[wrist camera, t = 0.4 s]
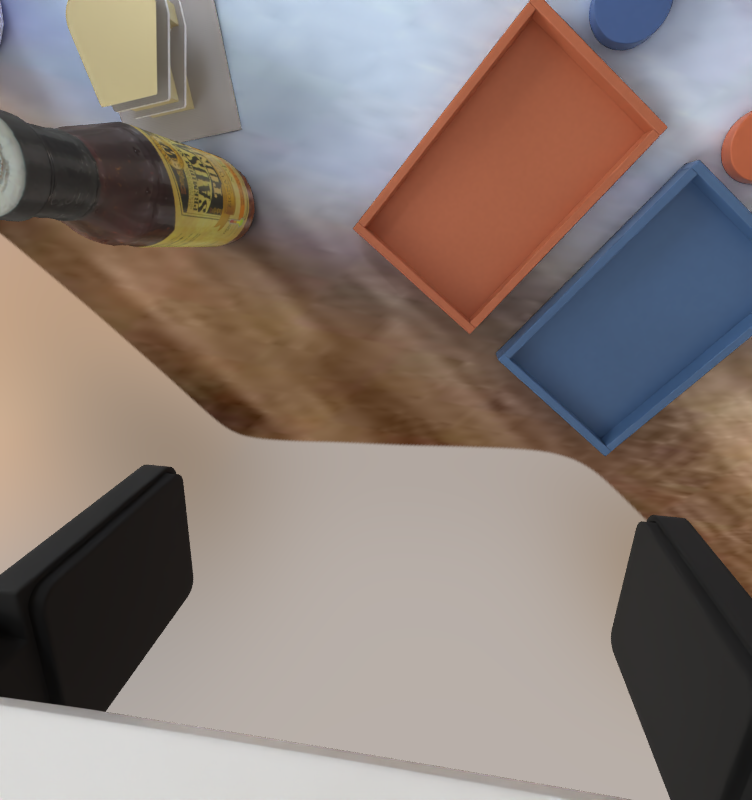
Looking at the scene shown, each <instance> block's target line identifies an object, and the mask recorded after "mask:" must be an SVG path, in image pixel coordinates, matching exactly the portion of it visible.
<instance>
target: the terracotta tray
mask: <svg viewBox="0 0 752 800" xmlns="http://www.w3.org/2000/svg"><path fill="white" fill-rule="evenodd" d="M666 129H667V126H666V125H665V124H664V123H663V122H662V121H661V120H660V119H659V118H658V117H657V116H656V115H655V113H654V112H653V111H652V110H651V109H650V108H649V107H648V106H647V105H646V104H645V103H644V102H643V101H642V100H641V99H640V98H639V97H638V96H637V95H636V94H635V93H634V92H633V91H632V90H631V89H630V88H629V87H628V86H627V85H626V84H625V83H624V82H623V81H622V80H621V79H620V77H619V76H618V75H617V74H616V73H615V72H614V71H613V70H612V69H611V68H610V67H609V66H608V65H607V64H606V63H605V62H604V61H603V60H602V59H601V58H600V57H599V56H598V55H597V54H596V53H595V52H594V51H593V50H592V49H591V48H590V47H589V46H588V45H587V44H586V43H585V42H584V40H583V39H582V38H581V37H580V36H579V35H578V34H577V33H576V32H575V31H574V30H573V29H572V28H571V27H570V26H569V25H568V24H567V23H566V22H565V21H564V20H563V19H562V18H561V17H560V16H559V15H558V14H557V13H556V12H555V11H554V10H553V9H552V8H551V7H550V6H549V5H548V3H547V2H546V1H545V0H530V1H529V3H527V5H526V6H525V7H524V9H523V10H522V11H521V12H520V14H519V15H518V16H517V18H516V19H515V20H514V21H513V23H512V24H511V25H510V27H509V28H508V29H507V30H506V32H505V33H504V34H503V36H502V37H501V38H500V40H499V41H498V42H497V43H496V45H495V46H494V47H493V49H492V50H491V51H490V52H489V54H488V55H487V56H486V58H485V59H484V60H483V61H482V63H481V64H480V65H479V67H478V68H477V69H476V70H475V72H474V73H473V74H472V76H471V77H470V78H469V79H468V81H467V82H466V83H465V85H464V86H463V87H462V89H461V90H460V91H459V92H458V94H457V95H456V96H455V98H454V99H453V100H452V101H451V103H450V104H449V105H448V107H447V108H446V109H445V110H444V112H443V113H442V114H441V116H440V117H439V118H438V119H437V121H436V122H435V123H434V125H433V126H432V127H431V128H430V130H429V131H428V132H427V134H426V135H425V136H424V138H423V139H422V140H421V141H420V143H419V144H418V145H417V147H416V148H415V149H414V150H413V152H412V153H411V154H410V156H409V157H408V158H407V159H406V161H405V162H404V163H403V165H402V166H401V167H400V168H399V170H398V171H397V172H396V174H395V175H394V176H393V178H392V179H391V180H390V181H389V183H388V184H387V185H386V187H385V188H384V189H383V190H382V192H381V193H380V194H379V196H378V197H377V198H376V199H375V201H374V202H373V203H372V205H371V206H370V207H369V208H368V210H367V211H366V212H365V214H364V215H363V216H362V217H361V219H360V220H359V222H358V223H357V224H356V225H355V226H354V228H353V229H354V230H355V231H356V232H357V233H358V234H359V235H360V236H361V237H362V238H364V239H365V240H366V241H367V242H368V243H369V244H370V245H371V246H372V247H374V248H375V249H376V250H377V251H378V252H379V253H380V254H381V255H382V256H383V257H385V258H386V259H387V260H388V261H389V262H390V263H391V264H392V265H393V266H395V267H396V268H397V269H398V270H399V271H400V272H401V273H402V274H403V275H405V276H406V277H407V278H408V279H409V280H410V281H411V282H412V283H413V284H415V285H416V286H417V287H418V288H419V289H420V290H421V291H422V292H423V293H425V294H426V295H427V296H428V297H429V298H430V299H431V300H432V301H433V302H435V303H436V304H437V305H438V306H439V307H440V308H441V309H442V310H443V311H445V312H446V313H447V314H448V315H449V316H450V317H451V318H452V319H453V320H454V321H456V322H457V323H458V324H459V325H460V326H461V327H462V328H463V329H464V330H466V331H467V332H468V333H469V334H470V333H471V332H472V331H473V330H474V329H475V328H476V327H477V326H478V325H479V324H480V323H481V322H482V321H483V320H484V319H485V318H486V317H487V316H488V315H489V314H490V313H491V312H492V311H493V309H494V308H495V307H496V306H497V305H498V304H499V303H500V302H501V301H502V300H503V299H504V298H505V297H506V296H507V295H508V294H509V293H510V292H511V291H512V290H513V289H514V288H515V287H516V285H517V284H518V283H519V282H520V281H521V280H522V279H523V278H524V277H525V276H526V275H527V274H528V273H529V272H530V271H531V270H532V269H533V268H534V267H535V266H536V265H537V264H538V263H539V261H540V260H541V259H542V258H543V257H544V256H545V255H546V254H547V253H548V252H549V251H550V250H551V249H552V248H553V247H554V246H555V245H556V244H557V243H558V242H559V241H560V240H561V239H562V237H563V236H564V235H565V234H566V233H567V232H568V231H569V230H570V229H571V228H572V227H573V226H574V225H575V224H576V223H577V222H578V221H579V220H580V219H581V218H582V217H583V216H584V215H585V213H586V212H587V211H588V210H589V209H590V208H591V207H592V206H593V205H594V204H595V203H596V202H597V201H598V200H599V199H600V198H601V197H602V196H603V195H604V194H605V193H606V192H607V191H608V189H609V188H610V187H611V186H612V185H613V184H614V183H615V182H616V181H617V180H618V179H619V178H620V177H621V176H622V175H623V174H624V173H625V172H626V171H627V170H628V169H629V168H630V167H631V165H632V164H633V163H634V162H635V161H636V160H637V159H638V158H639V157H640V156H641V155H642V154H643V153H644V152H645V151H646V150H647V149H648V148H649V147H650V146H651V145H652V144H653V143H654V141H655V140H656V139H657V138H658V137H659V135H661V134H662V133H663V132H664V131H665V130H666Z"/></svg>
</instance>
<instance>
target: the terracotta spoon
mask: <svg viewBox="0 0 752 800" xmlns="http://www.w3.org/2000/svg"><path fill="white" fill-rule="evenodd" d="M721 159H722V164H723V167H724V169H725V171H726V172H727V174H728V175H729V176H730V177H731V178H733V179H734V180H736V181H738V182H741V183H745V184H752V111H750V112H749V113H747V114H745V115H744V116H742V117H741V118H740V119H739V120H738V121H736V122H735V124H734V125H733V126H732V127H731V128H730V130H729V131H728V133H727V135H726V137H725V139H724V142H723V145H722V150H721Z"/></svg>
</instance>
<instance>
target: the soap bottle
mask: <svg viewBox="0 0 752 800" xmlns="http://www.w3.org/2000/svg"><path fill="white" fill-rule="evenodd" d="M3 26H4V23H3V16H2V8H1V1H0V43H1V38H2V32H3Z"/></svg>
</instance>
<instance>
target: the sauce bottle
mask: <svg viewBox="0 0 752 800" xmlns="http://www.w3.org/2000/svg"><path fill="white" fill-rule="evenodd" d="M254 212H255V207H254V199H253V194H252V191H251V187H250V185H249V184H248V183H247V180H246V178H245V176H243V175H242V174H241V172H239V171H238V170H237V169H236V168H234V167H233V166H232V165H231V164H230V163H229V162H227V161H226V160H224V159H222V158H220V157H218V156H215V155H212V154H210V153H207V152H204V151H202V150H199V149H196V148H193V147H190V146H188V145H185V144H182V143H180V142H177V141H173V140H171V139H168V138H165V137H162V136H160V135H157V134H154V133H151V132H148V131H146V130H143V129H141V128H138V127H135V126H132V125H129V124H126V123H122V122H112V123H101V124H89V125H77V126H65V127H59V128H56V129H53V128H44V127H40V126H36V125H33V124H29V123H26V122H25V121H23V120H22V119H20V118H19V117H17V116H15V115H13V114H11V113H8V112H5V111H2V110H0V220H6V221H24V220H28V219H30V218H32V217H38V218H52V219H56V220H59V221H61V222H62V223H65V224H66V225H68V226H69V227H70V228H71V229H72V230H74V231H75V232H77V233H78V234H80V235H82V236H84V237H86V238H88V239H90V240H93V241H96V242H99V243H103V244H108V245H113V246H116V245H129V246H134V247H216V246H221V245H224V244H228V243H231V242H234V241H236V240H238V239H239V238H241V237H242V236H243V235H244V234H245V233H246V232H247V231H248V229H249V227H250V226H251V224H252V220H253V216H254Z"/></svg>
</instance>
